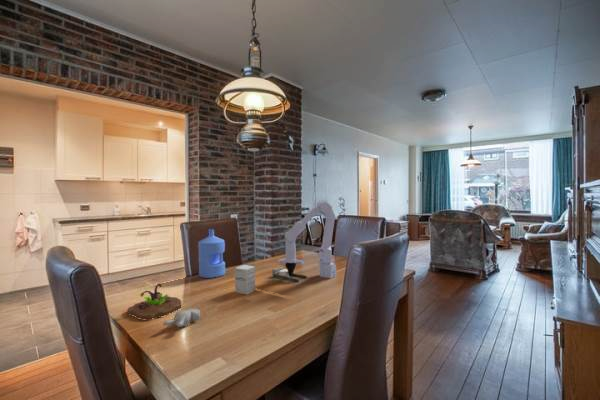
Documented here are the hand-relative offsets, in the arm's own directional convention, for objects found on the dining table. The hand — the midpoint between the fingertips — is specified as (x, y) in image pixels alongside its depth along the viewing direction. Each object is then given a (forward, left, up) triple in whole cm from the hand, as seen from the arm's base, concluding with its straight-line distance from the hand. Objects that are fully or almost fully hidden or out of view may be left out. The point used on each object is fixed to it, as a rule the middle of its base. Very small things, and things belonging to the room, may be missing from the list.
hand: (291, 276), depth 162 cm
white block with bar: (+4, +2, -1) cm, 5 cm away
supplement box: (+8, +27, -2) cm, 29 cm away
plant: (+24, +64, -3) cm, 69 cm away
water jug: (+47, +18, -2) cm, 51 cm away
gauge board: (+1, +1, -2) cm, 3 cm away
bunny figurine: (+1, +66, -3) cm, 66 cm away
